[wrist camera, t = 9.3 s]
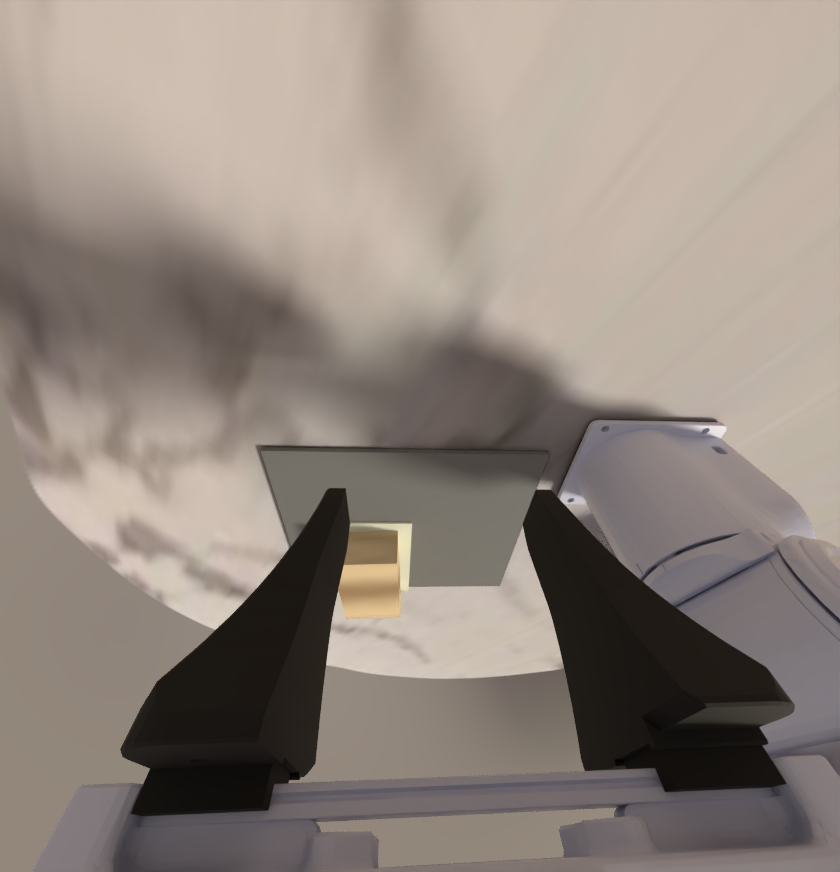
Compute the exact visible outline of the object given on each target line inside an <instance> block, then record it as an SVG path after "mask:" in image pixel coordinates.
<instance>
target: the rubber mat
mask: <svg viewBox="0 0 840 872" xmlns="http://www.w3.org/2000/svg"><path fill="white" fill-rule="evenodd" d="M261 454H262V457H263V460H264V463H265V467H266V470H267V473H268V476H269V479H270V482H271V485H272V488H273V492H274V495H275V498H276V501H277V504H278V507H279V510H280V513H281V517H282V520H283V523H284V526H285V529H286V532H287V535H288V538H289V541H290V545H291V546H292V544H293V543H294V542H295V540H296V539H297V537H298V536H299V534H300V533H301V531H302V530H303V528H304V527H305V525H306V524H307V522H308V521H309V519H310V518H311V516H312V515H313V513H314V511H315V510H316V508H317V506H318V505H319V503H320V501H321V499H322V498H323V496H324V494H325V492H326V490H327V489H329V488H346V495H347V502H348V510H349V518H350V529H349V532H375V531H398V544H399V564H400V583H401V591H408V589H409V587H428V586H500V584H501V581H502V579H503V576H504V573H505V571H506V568H507V565H508V563H509V560H510V558H511V555H512V552H513V550H514V547H515V544H516V542H517V539H518V536H519V534H520V531H521V529H522V526H523V521H524V519H525V516H526V513H527V511H528V508H529V506H530V503H531V500H532V498H533V495H534V492H535V490H536V489H537V487H538V484H539V481H540V479H541V476H542V473H543V471H544V468H545V465H546V463H547V460H548V458H549V453H548V451H485V450H421V449H357V448H292V447H262V449H261Z"/></svg>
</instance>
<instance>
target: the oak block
mask: <svg viewBox="0 0 840 872" xmlns="http://www.w3.org/2000/svg"><path fill="white" fill-rule="evenodd" d="M338 590H339V593H340V597H341V600H342V604H343V608H344V611H345V615H346V618H347V619H353V618H385V617H400V597H401V583H400V564H399V544H398V531H375V532H349V538H348V547H347V552H346V557H345V562H344V566H343V571H342V575H341V579H340V584H339V588H338Z"/></svg>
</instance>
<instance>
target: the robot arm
mask: <svg viewBox="0 0 840 872" xmlns="http://www.w3.org/2000/svg"><path fill="white" fill-rule="evenodd" d="M605 426H606V427H605ZM603 427H605V428H603ZM602 428H603V429H602ZM726 430H727V427H726V426H725V425H724V424H723V423H720V422H674V421H627V420H595V421H593V422H591V423H590V424H589V426H588V428H587V430H586V433H585V435H584V437H583V439H582V442H581V444H580V446H579V448H578V451H577V453H576V455H575V457H574V460H573V462H572V464H571V466H570V469H569V471H568V473H567V475H566V478H565V480H564V482H563V484H562V487H561V489H560V491H559V493H558V496H556V495H555V494H554V493H553V492H552V490H535V492H534V495H533V498H532V500H531V503H530V506H529V508H528V511H527V513H526V516H525V519H524V521H523V528H524V533H525V537H526V542H527V546H528V550H529V553H530V556H531V559H532V561H533V564H534V567H535V570H536V573H537V576H538V578H539V581H540V584H541V587H542V590H543V592H544V595H545V598H546V601H547V604H548V606H549V610H550V613H551V616H552V619H553V623H554V627H555V631H556V635H557V639H558V643H559V647H560V651H561V656H562V660H563V664H564V669H565V673H566V678H567V683H568V688H569V693H570V697H571V702H572V707H573V713H574V718H575V724H576V730H577V735H578V741H579V748H580V754H581V759H582V763H583V766H584V769H585V771H574V772H550V773H526V774H503V775H478V776H455V777H431V778H407V779H382V780H358V781H334V782H312V783H288V782H289V780H299V779H300V777H304V776H305V775H306V774H307V773H308V772H309V771H310V770H311V768H312V767H313V766H314V764H315V761H316V750H317V740H318V730H319V721H320V711H321V702H322V693H323V685H324V676H325V668H326V660H327V652H328V644H329V637H330V629H331V622H332V616H333V611H334V606H335V602H336V597H337V593H338V588H339V584H340V579H341V575H342V571H343V566H344V562H345V557H346V552H347V547H348V538H349V529H350V518H349V510H348V502H347V495H346V488H329V489H327V490H326V492H325V494H324V496H323V498H322V499H321V501H320V503H319V505H318V506H317V508H316V510H315V511H314V513H313V515H312V516H311V518H310V519H309V521H308V522H307V524H306V525H305V527H304V528H303V530H302V531H301V533H300V534H299V536H298V537H297V539H296V540H295V542H294V543H293V544H292V546H291V547H290V548H289V550H288V551H287V552H286V554H285V555H284V556H283V558H282V559H281V560H280V562H279V563H278V564H277V565H276V566H275V568H274V569H273V570H272V571H271V573H270V574H269V575H268V576H267V577H266V578H265V580H264V581H263V582H262V583H261V584H260V585H259V586H258V588H257V589H256V590H255V591H254V592H253V593H252V594H251V595H250V596H249V597H248V598H247V599H246V601H245V602H244V603H243V604H242V605H241V606H240V607H239V608H238V609H237V610H236V611H235V612H234V613H233V614H232V615H231V616H230V617H229V618H228V619H227V620H226V621H225V622H224V623H223V624H221V625H220V626H219V627H218V628H217V629H216V630H215V631H214V632H213V633H212V634H211V635H210V636H209V637H208V638H207V639H206V640H205V641H204V642H202V643H201V644H200V645H199V646H198V647H197V648H196V649H195V650H193V652H191V653H190V654H189V655H188V656H186V657H185V658H184V659H183V660H182V661H181V662H179V663H178V664H177V665H176V666H175V667H174V668H172V669H171V670H170V671H169V672H168V673H167V674H165V675H164V676H163V677H162V678H161V679H160V680H159V681H157V683H156V684H155V686H154V688H153V689H152V691H151V693H150V694H149V696H148V698H147V699H146V700H145V702H144V704H143V706H142V707H141V709H140V711H139V713H138V715H137V717H136V719H135V721H134V723H133V725H132V727H131V729H130V731H129V733H128V735H127V737H126V739H125V741H124V743H123V745H122V747H121V749H120V750H121V753H122V756H123V757H124V758H126V759H128V760H130V761H133V762H135V763H138V764H140V765H143V766H146V767H148V768H150V770H149V773H148V775H147V777H146V779H145V782H144V784H135V783H118V784H93V785H81V786H80V787H78V788H77V789H76V790H75V792H74V794H73V796H72V797H71V799H70V801H69V803H68V805H67V807H66V808H65V810H64V812H63V814H62V816H61V818H60V820H59V821H58V823H57V825H56V827H55V829H54V831H53V832H52V834H51V836H50V838H49V840H48V842H47V843H46V845H45V847H44V849H43V851H42V853H41V855H40V856H39V858H38V860H37V862H36V864H35V866H34V868H33V869H32V871H31V872H840V548H838V547H836V546H834V545H833V544H830V543H828V542H826V541H822V540H817V539H815V534H814V530H813V527H812V524H811V522H810V520H809V517H808V516H807V514H806V512H805V511H804V509H803V508H802V507H801V505H800V504H799V503H798V502H797V501H796V500H795V499H794V498H793V497H792V496H791V495H789V494H788V493H787V492H786V491H785V490H783V489H782V488H781V487H780V486H778V485H777V484H776V483H775V482H773V481H772V480H771V479H770V478H769V477H767V476H766V475H765V474H764V473H762V472H761V471H760V470H759V469H758V468H756V467H755V466H754V465H753V464H751V463H750V462H749V461H748V460H746V459H745V458H744V457H743V456H742V455H740V454H739V453H738V452H737V451H735V450H734V449H733V448H732V447H730V446H729V445H728V444H727V443H726V442H724V441H723V440H722V439H721V437H722V436H723V434H724V433H725V432H726ZM564 504H587V505H588V507H589V508H590V510H591V512H592V514H593V516H594V517H595V519H596V521H597V523H598V524H599V526H600V528H601V530H602V532H603V533H604V535H605V537H606V539H607V540H608V542H609V544H610V546H611V548H612V549H613V551H614V553H615V555H616V556H617V558H618V559H616V558H615V557H614V556H613V555H612V554H611V553H610V552H609V551H608V550H607V549H606V548H605V547H604V546H603V545H602V544H601V543H600V542H599V541H598V540H597V539H596V538H595V537H594V536H593V535H592V534H591V533H590V532H589V531H588V530H587V529H586V528H585V527H584V526H583V524H582V523H581V522H580V521H579V520H578V519H577V518H576V517H575V516H574V515H573V514H572V513H571V511H570V510H569V509H568V508H567V507H566V506H565V505H564ZM616 807H619V808H616ZM596 808H616V810H615V812H614V818H605V819H594V820H583V821H582V822H580V823H576V824H571V825H565V826H560V829H559V832H560V836H561V841H562V844H563V849H564V856H563V857H560V858H542V859H524V860H506V861H488V862H471V863H453V864H436V865H418V866H403V867H402V866H401V867H384V868H378V843H379V840H378V838H377V836H374V835H373V833H372V832H321V830H320V827H319V826H318V824H317V823H316V822H326V821H327V822H328V821H348V820H368V819H388V818H409V817H431V816H452V815H471V814H492V813H512V812H533V811H554V810H575V809H596Z"/></svg>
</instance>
